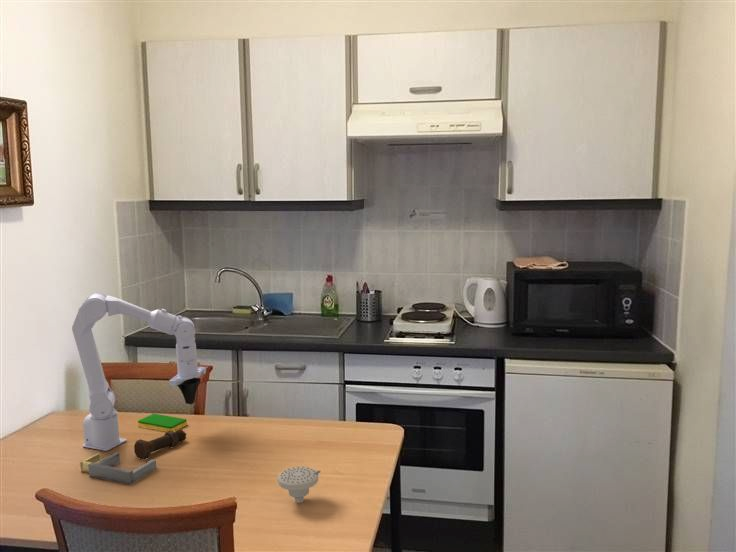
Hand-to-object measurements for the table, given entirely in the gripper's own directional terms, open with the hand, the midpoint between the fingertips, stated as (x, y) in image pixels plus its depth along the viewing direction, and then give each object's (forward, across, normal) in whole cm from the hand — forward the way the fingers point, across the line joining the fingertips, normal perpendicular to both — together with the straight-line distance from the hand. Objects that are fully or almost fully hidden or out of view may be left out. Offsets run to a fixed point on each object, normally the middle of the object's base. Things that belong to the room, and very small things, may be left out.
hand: (190, 403), depth 196 cm
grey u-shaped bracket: (+9, -28, 0) cm, 30 cm away
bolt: (+10, -13, 0) cm, 16 cm away
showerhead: (+10, -26, -52) cm, 58 cm away
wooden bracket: (+9, -28, +9) cm, 31 cm away
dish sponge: (+10, +2, +13) cm, 16 cm away
